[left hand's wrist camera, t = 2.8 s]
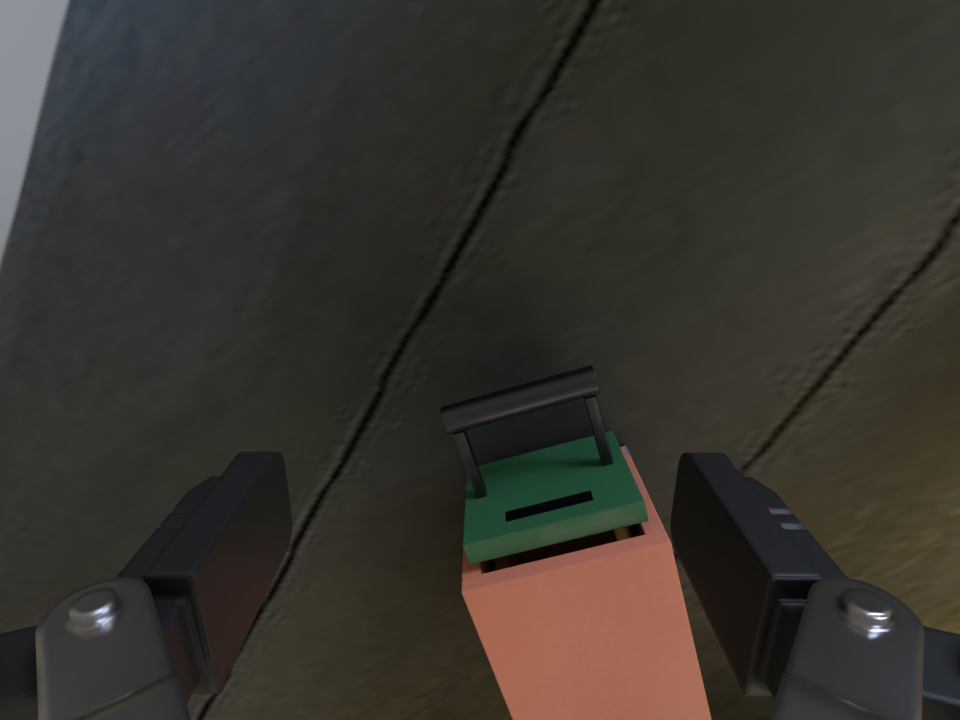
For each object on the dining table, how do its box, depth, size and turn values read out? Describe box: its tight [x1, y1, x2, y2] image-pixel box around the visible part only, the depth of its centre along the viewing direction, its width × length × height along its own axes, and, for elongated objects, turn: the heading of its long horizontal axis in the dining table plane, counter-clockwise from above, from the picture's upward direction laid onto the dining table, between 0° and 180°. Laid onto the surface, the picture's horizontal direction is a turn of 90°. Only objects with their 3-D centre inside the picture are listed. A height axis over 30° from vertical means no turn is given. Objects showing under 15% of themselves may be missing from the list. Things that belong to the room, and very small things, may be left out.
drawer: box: [441, 365, 649, 571], centre depth 31 cm, size 18×9×7 cm, turn 17°
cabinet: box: [462, 445, 712, 720], centre depth 33 cm, size 14×10×9 cm
